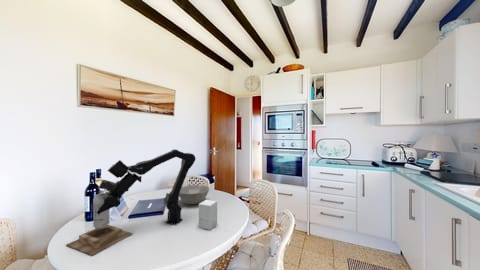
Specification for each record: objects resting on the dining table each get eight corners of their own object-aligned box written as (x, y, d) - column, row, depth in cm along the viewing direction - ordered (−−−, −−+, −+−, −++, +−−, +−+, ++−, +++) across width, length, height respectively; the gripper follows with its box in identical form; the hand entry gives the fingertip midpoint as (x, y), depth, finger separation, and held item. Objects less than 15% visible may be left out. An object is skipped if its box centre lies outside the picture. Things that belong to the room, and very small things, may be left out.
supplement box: (217, 224, 104) (217, 201, 104) (209, 230, 98) (210, 205, 98) (206, 221, 108) (206, 199, 107) (198, 227, 101) (198, 203, 101)
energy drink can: (90, 229, 87) (89, 196, 87) (100, 223, 93) (100, 192, 93) (102, 230, 86) (102, 196, 86) (112, 223, 92) (112, 192, 92)
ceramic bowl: (206, 209, 125) (206, 193, 125) (171, 208, 126) (171, 193, 125) (211, 197, 147) (211, 184, 147) (181, 197, 148) (181, 184, 148)
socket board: (132, 234, 93) (132, 227, 93) (92, 256, 77) (92, 247, 77) (108, 227, 100) (108, 220, 100) (66, 245, 84) (66, 237, 84)
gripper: (111, 170, 99) (84, 195, 93) (110, 177, 84) (78, 208, 78) (129, 183, 104) (104, 208, 98) (131, 192, 88) (102, 222, 82)
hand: (97, 211), depth 89 cm, fingers closed on energy drink can, 6 cm apart
